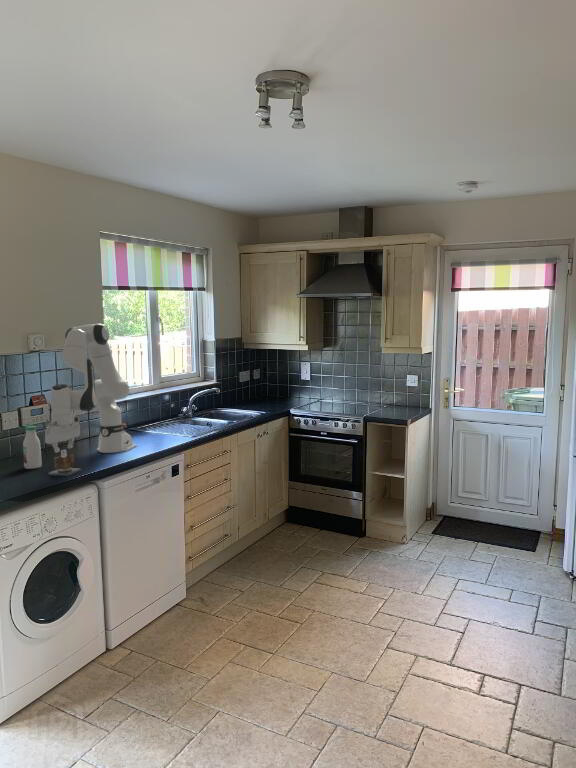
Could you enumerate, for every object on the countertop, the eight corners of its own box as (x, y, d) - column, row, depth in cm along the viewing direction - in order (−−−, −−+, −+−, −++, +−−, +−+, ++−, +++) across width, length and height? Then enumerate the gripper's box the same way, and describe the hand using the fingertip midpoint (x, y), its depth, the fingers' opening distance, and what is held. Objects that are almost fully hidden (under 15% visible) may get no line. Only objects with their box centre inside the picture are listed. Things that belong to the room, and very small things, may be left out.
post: (63, 469, 270) (61, 447, 269) (81, 470, 267) (79, 448, 266) (48, 474, 260) (47, 452, 259) (67, 475, 257) (65, 453, 256)
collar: (63, 465, 267) (62, 454, 266) (74, 465, 265) (73, 455, 265) (54, 468, 261) (54, 457, 261) (66, 469, 259) (65, 458, 259)
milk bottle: (44, 465, 280) (41, 424, 278) (38, 469, 272) (35, 427, 270) (28, 465, 279) (25, 425, 278) (21, 469, 272) (18, 428, 270)
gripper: (52, 424, 250) (54, 455, 252) (81, 417, 270) (83, 445, 271) (40, 423, 252) (42, 454, 253) (70, 416, 272) (72, 445, 273)
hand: (63, 450), depth 262 cm, fingers open, 8 cm apart
